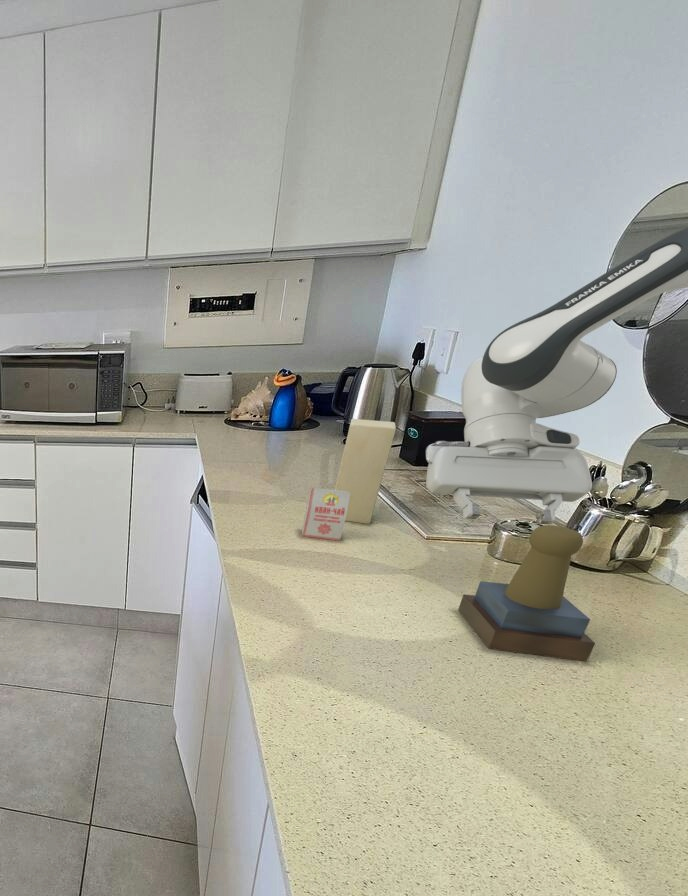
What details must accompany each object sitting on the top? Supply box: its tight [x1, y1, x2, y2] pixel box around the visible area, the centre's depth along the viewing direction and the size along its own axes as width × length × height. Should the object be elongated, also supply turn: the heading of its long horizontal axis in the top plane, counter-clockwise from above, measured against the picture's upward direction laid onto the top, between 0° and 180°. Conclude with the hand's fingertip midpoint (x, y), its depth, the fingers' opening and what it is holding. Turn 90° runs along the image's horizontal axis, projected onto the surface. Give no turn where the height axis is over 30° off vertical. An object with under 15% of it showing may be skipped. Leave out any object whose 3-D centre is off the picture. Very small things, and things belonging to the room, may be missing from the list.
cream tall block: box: [333, 418, 397, 525], centre depth 124 cm, size 8×7×21 cm
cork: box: [504, 524, 584, 610], centre depth 81 cm, size 6×6×11 cm
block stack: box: [457, 580, 596, 662], centre depth 84 cm, size 11×11×6 cm
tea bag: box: [301, 487, 351, 542], centre depth 118 cm, size 4×7×10 cm, turn 64°
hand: (508, 520), depth 90 cm, fingers open, 8 cm apart
